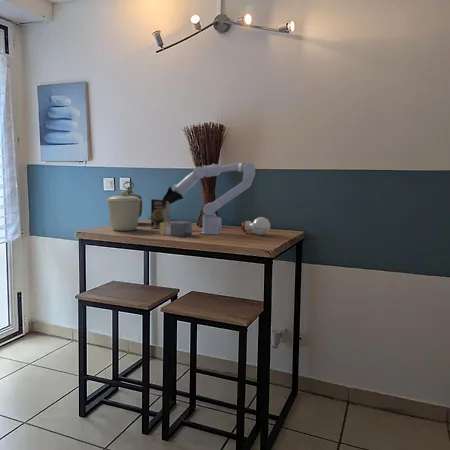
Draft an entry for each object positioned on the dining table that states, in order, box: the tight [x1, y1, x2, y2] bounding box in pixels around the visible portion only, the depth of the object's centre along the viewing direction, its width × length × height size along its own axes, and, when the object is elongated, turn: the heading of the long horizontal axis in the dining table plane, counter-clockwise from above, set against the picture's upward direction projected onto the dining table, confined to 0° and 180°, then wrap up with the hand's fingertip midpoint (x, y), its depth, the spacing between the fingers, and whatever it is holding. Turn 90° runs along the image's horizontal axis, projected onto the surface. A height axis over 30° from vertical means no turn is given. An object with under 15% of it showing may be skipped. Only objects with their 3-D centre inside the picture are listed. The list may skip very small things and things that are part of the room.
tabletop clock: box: [115, 181, 143, 218], centre depth 253 cm, size 14×9×25 cm, turn 130°
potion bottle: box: [241, 216, 271, 236], centre depth 219 cm, size 9×10×15 cm
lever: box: [159, 222, 171, 236], centre depth 213 cm, size 11×5×6 cm, turn 72°
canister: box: [106, 190, 141, 232], centre depth 226 cm, size 18×18×21 cm
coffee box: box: [150, 198, 171, 230], centre depth 236 cm, size 9×6×16 cm
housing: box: [170, 220, 193, 238], centre depth 211 cm, size 7×10×6 cm
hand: (166, 201), depth 219 cm, fingers open, 7 cm apart
